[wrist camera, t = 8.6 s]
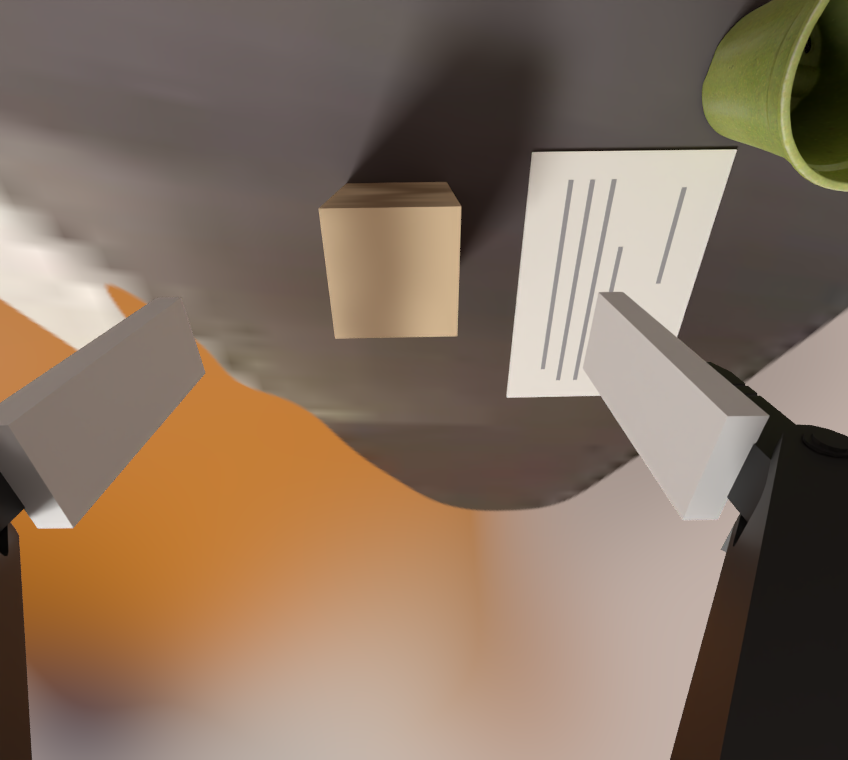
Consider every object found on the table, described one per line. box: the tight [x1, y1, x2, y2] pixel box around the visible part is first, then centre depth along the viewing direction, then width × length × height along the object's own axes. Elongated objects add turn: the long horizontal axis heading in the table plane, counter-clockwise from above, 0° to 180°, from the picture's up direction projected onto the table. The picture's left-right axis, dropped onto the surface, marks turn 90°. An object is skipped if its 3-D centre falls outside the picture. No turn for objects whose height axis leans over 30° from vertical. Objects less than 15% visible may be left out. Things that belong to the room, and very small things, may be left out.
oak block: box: [319, 182, 461, 339], centre depth 23 cm, size 6×6×9 cm
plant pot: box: [702, 0, 848, 191], centre depth 20 cm, size 9×9×9 cm
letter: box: [506, 149, 737, 398], centre depth 29 cm, size 12×17×1 cm
